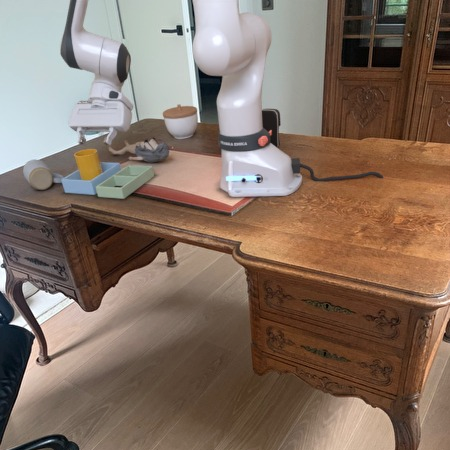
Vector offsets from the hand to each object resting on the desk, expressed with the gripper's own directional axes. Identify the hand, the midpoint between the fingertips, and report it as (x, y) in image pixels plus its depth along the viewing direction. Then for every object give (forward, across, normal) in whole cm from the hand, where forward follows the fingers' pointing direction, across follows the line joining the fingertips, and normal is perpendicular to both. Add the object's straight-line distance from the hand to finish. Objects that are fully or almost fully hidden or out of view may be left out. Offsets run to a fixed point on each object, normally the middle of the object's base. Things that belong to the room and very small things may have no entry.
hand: (93, 143), depth 130 cm
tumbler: (+10, 0, +4) cm, 11 cm away
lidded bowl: (-23, +6, +38) cm, 45 cm away
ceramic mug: (+13, -16, +2) cm, 21 cm away
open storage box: (+11, 0, +4) cm, 11 cm away
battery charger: (-16, +43, +32) cm, 56 cm away
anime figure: (-5, +3, +20) cm, 21 cm away
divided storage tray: (+11, +12, +4) cm, 16 cm away
